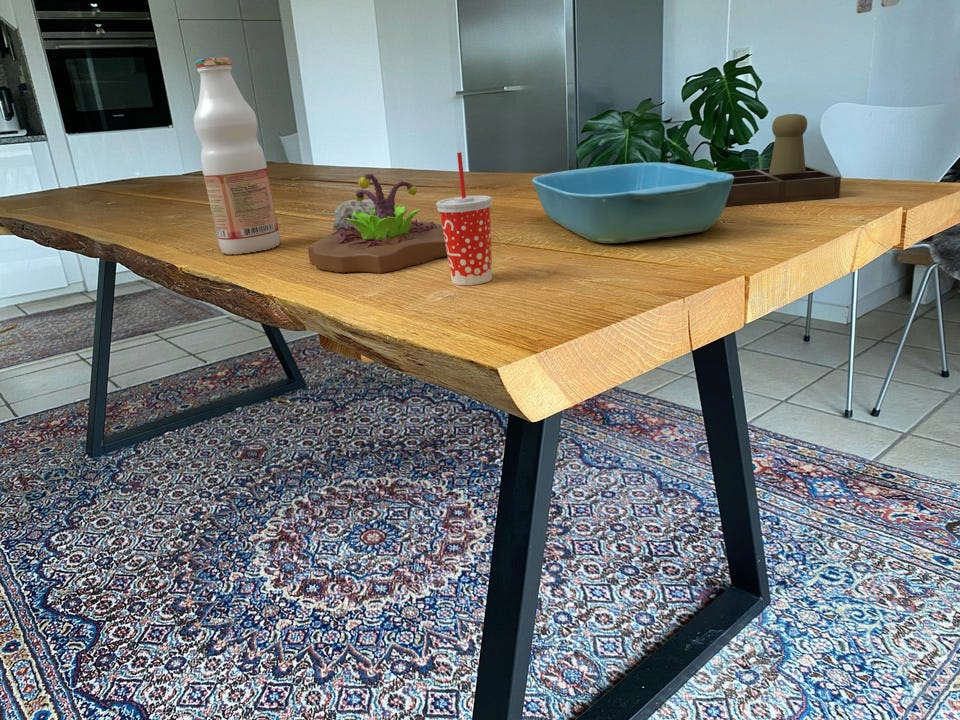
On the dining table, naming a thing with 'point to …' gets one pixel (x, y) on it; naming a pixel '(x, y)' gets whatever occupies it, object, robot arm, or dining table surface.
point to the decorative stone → (351, 212)
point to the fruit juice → (233, 163)
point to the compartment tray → (781, 186)
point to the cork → (788, 144)
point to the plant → (379, 237)
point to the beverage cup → (467, 235)
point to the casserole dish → (634, 200)
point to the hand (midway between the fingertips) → (876, 9)
